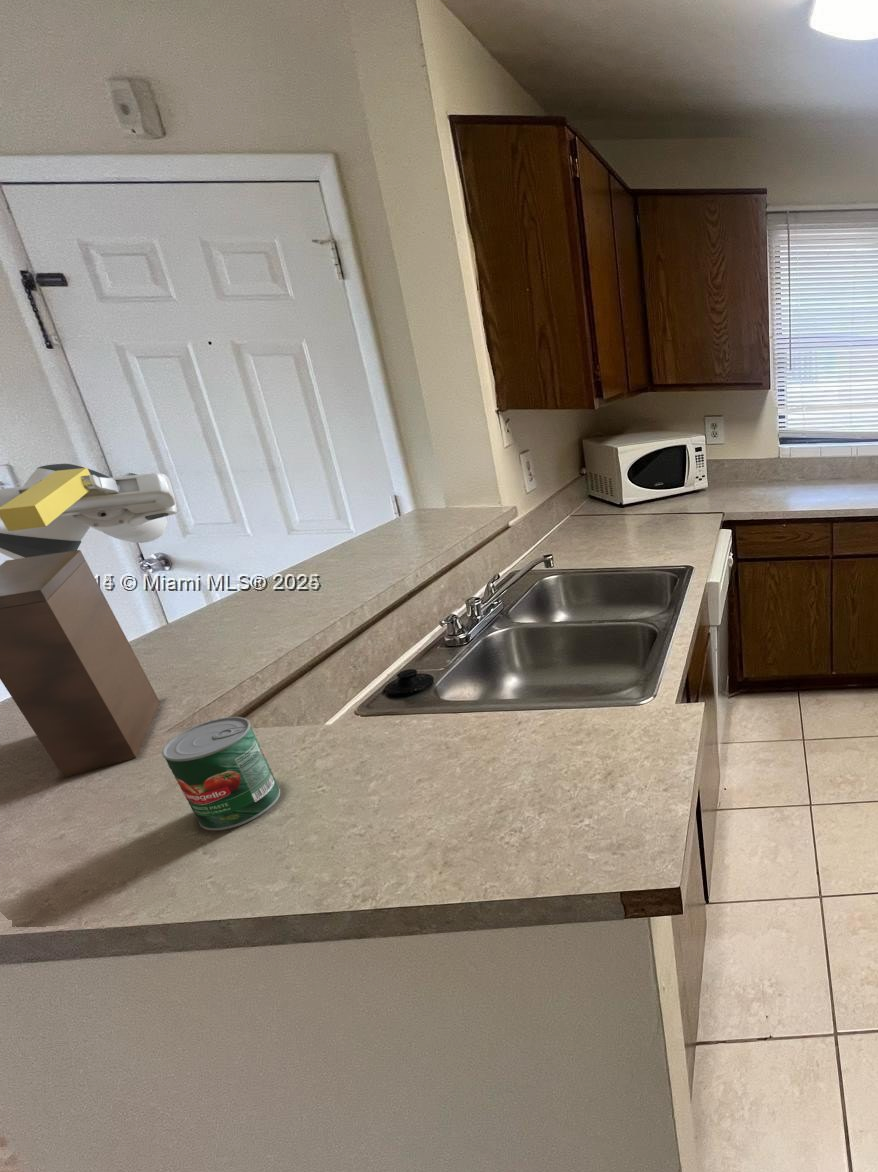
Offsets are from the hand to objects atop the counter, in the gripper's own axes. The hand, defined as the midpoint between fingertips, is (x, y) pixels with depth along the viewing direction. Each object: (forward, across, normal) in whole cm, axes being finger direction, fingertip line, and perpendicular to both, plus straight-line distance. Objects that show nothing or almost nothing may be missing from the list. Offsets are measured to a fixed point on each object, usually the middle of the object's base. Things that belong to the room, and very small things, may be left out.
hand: (66, 482), depth 96 cm
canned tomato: (+32, +16, +55) cm, 66 cm away
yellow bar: (+5, 0, +5) cm, 7 cm away
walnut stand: (+7, 0, +41) cm, 42 cm away
